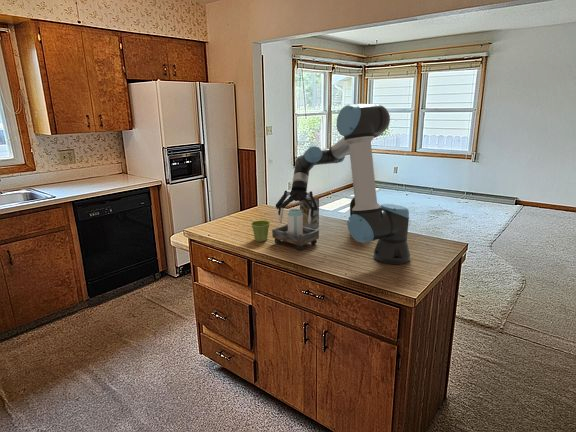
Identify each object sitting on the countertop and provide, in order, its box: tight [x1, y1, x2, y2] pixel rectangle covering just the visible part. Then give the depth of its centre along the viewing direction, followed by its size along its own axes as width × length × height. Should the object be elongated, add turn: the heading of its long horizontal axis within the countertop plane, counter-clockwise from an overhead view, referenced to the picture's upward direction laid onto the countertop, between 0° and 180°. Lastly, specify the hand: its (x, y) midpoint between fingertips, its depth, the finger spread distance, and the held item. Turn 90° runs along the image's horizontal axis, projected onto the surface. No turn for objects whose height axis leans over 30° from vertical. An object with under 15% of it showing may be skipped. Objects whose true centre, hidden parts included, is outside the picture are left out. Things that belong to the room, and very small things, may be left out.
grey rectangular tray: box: [271, 223, 320, 252], centre depth 179 cm, size 18×13×7 cm
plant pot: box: [250, 219, 271, 243], centre depth 185 cm, size 9×9×9 cm
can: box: [287, 208, 303, 236], centre depth 177 cm, size 7×7×12 cm
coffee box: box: [299, 195, 320, 229], centre depth 204 cm, size 9×6×16 cm
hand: (294, 221), depth 176 cm, fingers open, 13 cm apart
